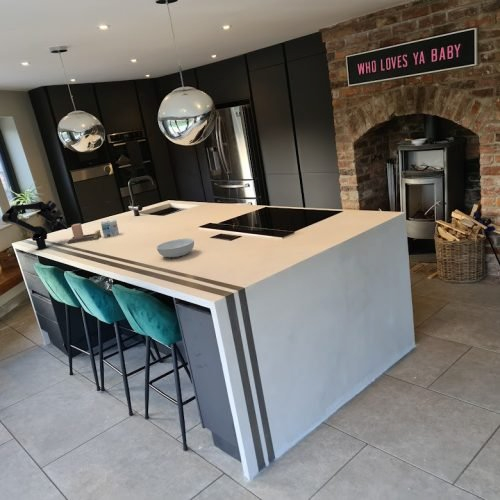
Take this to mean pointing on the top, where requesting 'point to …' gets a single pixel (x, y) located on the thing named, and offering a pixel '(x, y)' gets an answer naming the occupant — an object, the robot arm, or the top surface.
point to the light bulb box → (110, 228)
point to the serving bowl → (175, 247)
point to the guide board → (86, 238)
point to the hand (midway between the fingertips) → (67, 228)
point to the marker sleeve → (77, 231)
